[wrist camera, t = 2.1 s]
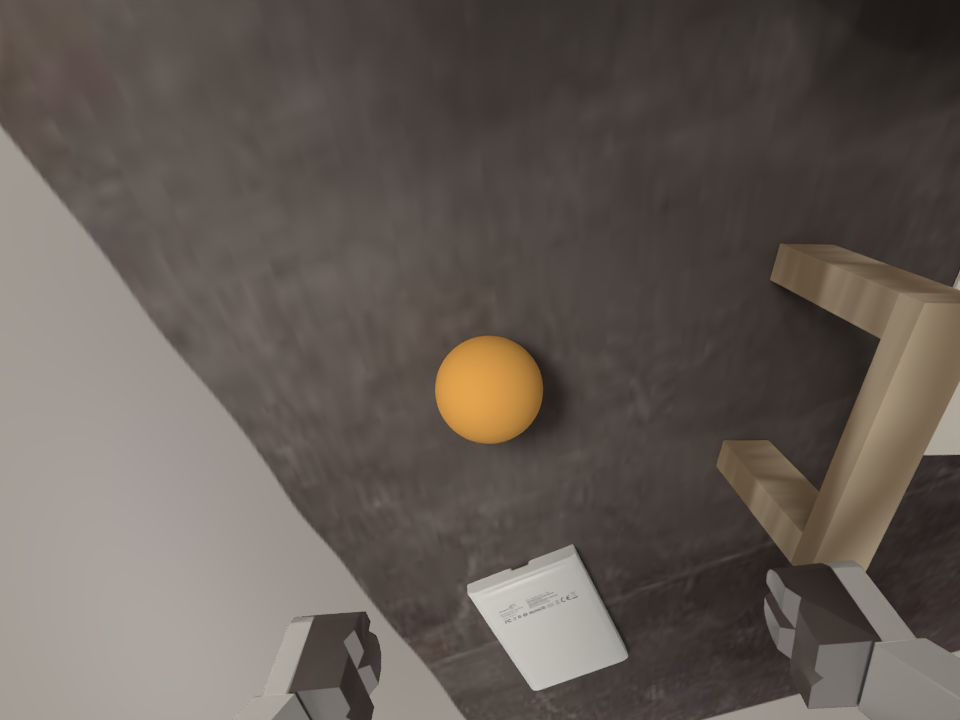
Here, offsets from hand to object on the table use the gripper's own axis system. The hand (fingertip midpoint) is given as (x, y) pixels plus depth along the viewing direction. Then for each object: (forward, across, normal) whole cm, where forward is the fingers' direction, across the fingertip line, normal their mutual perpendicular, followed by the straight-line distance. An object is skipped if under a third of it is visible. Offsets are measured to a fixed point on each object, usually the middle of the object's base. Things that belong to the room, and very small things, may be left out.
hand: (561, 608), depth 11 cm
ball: (+16, +2, +4) cm, 17 cm away
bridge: (+21, -14, +8) cm, 26 cm away
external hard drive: (+20, +2, +26) cm, 33 cm away
